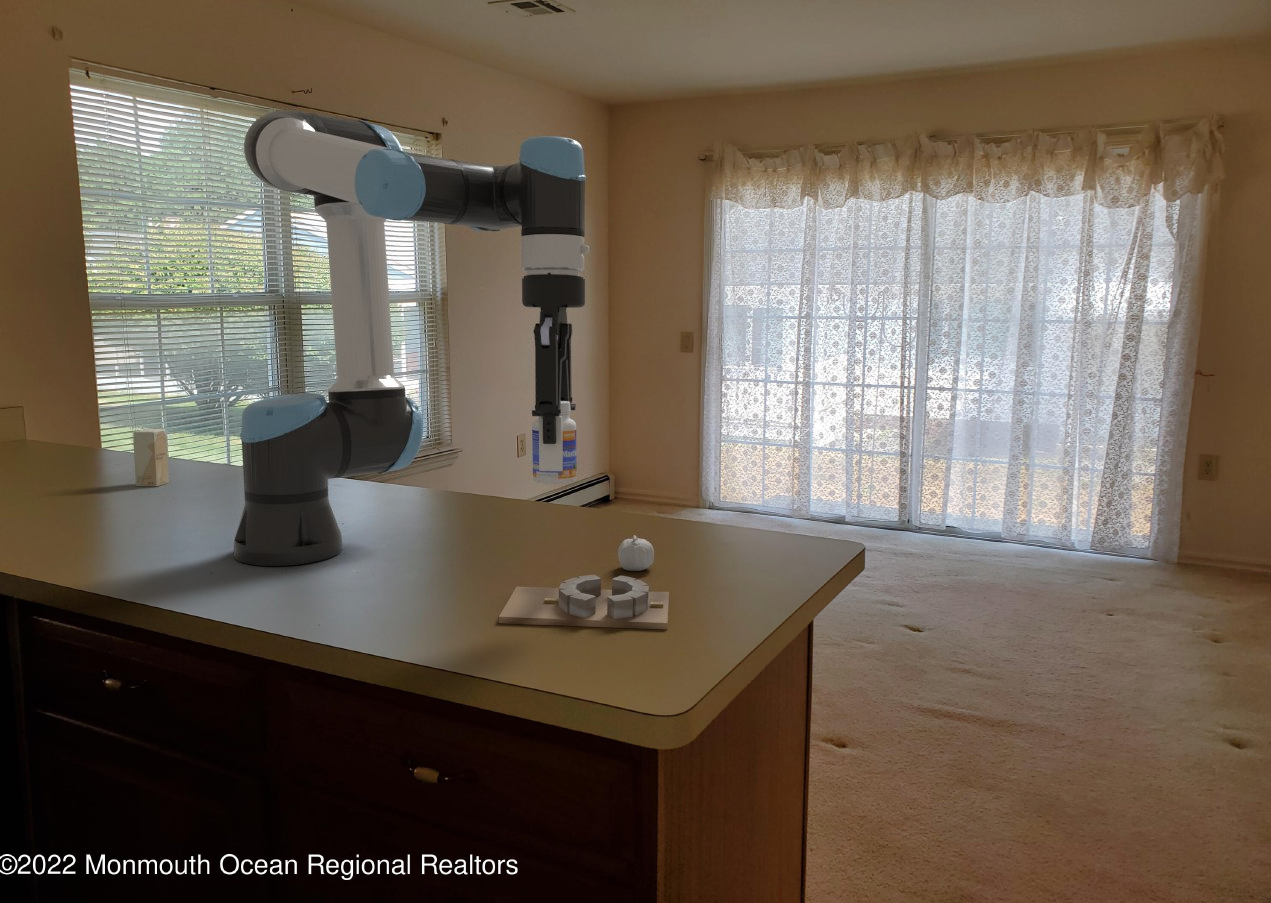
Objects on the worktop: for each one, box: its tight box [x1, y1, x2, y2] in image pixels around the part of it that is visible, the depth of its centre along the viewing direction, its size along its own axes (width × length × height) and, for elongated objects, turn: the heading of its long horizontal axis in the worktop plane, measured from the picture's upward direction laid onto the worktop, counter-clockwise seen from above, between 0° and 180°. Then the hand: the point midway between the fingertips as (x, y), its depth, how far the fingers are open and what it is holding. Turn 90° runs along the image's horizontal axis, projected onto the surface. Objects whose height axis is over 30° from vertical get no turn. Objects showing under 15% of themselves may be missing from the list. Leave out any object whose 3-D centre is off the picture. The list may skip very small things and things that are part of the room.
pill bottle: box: [531, 401, 578, 485], centre depth 113 cm, size 5×5×10 cm
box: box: [132, 428, 170, 487], centre depth 185 cm, size 5×4×11 cm
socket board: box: [498, 574, 670, 630], centre depth 115 cm, size 20×12×3 cm, turn 87°
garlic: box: [617, 534, 655, 572], centre depth 133 cm, size 6×5×5 cm
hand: (555, 466), depth 113 cm, fingers closed on pill bottle, 5 cm apart
